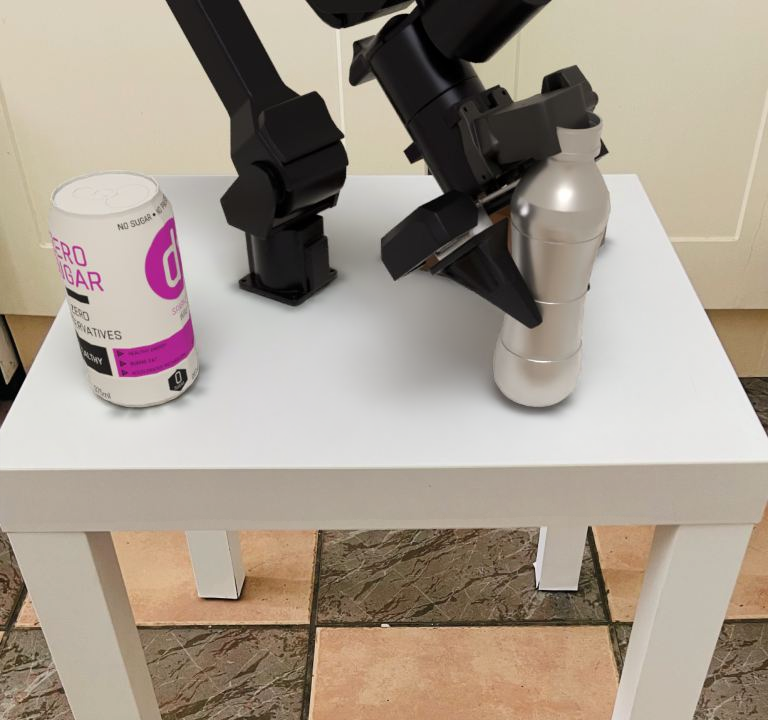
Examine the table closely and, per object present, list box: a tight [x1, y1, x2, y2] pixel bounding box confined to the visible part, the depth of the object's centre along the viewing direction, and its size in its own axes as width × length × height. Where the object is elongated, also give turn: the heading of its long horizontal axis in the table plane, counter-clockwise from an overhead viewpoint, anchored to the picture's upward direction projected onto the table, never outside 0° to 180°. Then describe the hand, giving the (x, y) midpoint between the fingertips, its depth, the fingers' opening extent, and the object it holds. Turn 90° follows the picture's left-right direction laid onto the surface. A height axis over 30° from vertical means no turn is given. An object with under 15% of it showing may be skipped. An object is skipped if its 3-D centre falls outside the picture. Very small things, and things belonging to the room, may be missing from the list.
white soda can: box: [46, 169, 200, 408], centre depth 66 cm, size 8×8×15 cm
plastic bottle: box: [492, 110, 612, 408], centre depth 62 cm, size 6×7×20 cm
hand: (561, 309), depth 63 cm, fingers closed on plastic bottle, 5 cm apart
